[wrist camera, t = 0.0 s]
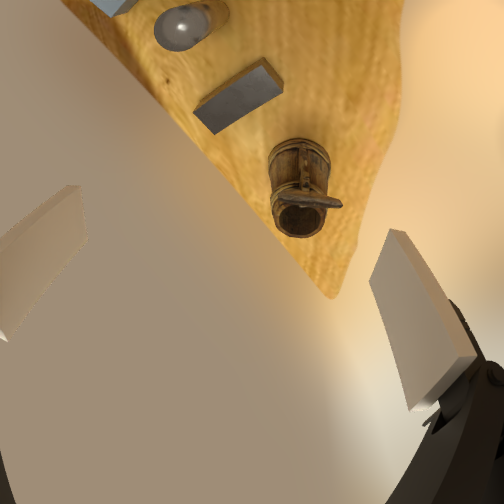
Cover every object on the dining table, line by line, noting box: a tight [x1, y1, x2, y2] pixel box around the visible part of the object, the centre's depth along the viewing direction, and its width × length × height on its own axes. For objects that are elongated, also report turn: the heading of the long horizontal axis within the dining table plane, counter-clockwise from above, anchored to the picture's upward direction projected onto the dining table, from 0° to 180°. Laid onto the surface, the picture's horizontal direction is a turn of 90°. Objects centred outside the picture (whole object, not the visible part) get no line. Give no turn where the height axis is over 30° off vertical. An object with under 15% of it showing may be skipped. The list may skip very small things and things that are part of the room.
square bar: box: [193, 57, 284, 135], centre depth 32 cm, size 10×4×4 cm, turn 127°
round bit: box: [154, 0, 230, 52], centre depth 21 cm, size 4×4×12 cm
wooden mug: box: [269, 139, 343, 238], centre depth 34 cm, size 9×14×18 cm, turn 178°
